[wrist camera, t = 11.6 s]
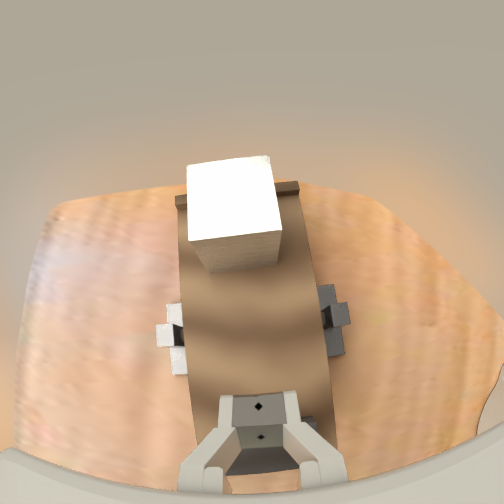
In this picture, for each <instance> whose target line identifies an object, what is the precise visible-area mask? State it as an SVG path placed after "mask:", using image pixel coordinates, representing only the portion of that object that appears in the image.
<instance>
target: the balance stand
mask: <svg viewBox="0 0 504 504" xmlns="http://www.w3.org/2000/svg"><path fill="white" fill-rule="evenodd" d="M317 293H318V299H319V305H320V311H321V312H324V314H325V320H326V323H325V325H323V330H324V337H325V344H326V351H327V357H332V356H337V355H342V354H345V352H344V345H343V338H342V332H341V327H342V326H345V325H348V324H351V322H350V316H349V310H348V304H347V302H343V303H337V301H336V295H335V289H334V284H331V285H325V286H318V287H317ZM166 307H167V322H168V324H160V325H156V335H157V347H170V357H171V367H172V375H173V374H188V373H187V364H186V355H185V344H184V342H182V340H181V334H180V332H181V329H183V321H182V308H181V303H176V304H166Z"/></svg>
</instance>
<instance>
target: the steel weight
mask: <svg viewBox="0 0 504 504" xmlns="http://www.w3.org/2000/svg"><path fill="white" fill-rule="evenodd" d="M187 204H188V235H189V242H190V244H191V246H192V247H193V249H194V250H195V252H196V254H197V255H198V257H199V258H200V260H201V262H202V263H203V265H204V266H205V268H206V269H207V271H208V273H209V274H211V273H220V272H228V271H237V270H245V269H253V268H261V267H269V266H276V264H277V258H278V252H279V246H280V240H281V234H282V225H281V219H280V214H279V208H278V202H277V197H276V191H275V186H274V181H273V176H272V170H271V165H270V160H269V155H265V156H254V157H245V158H237V159H229V160H221V161H214V162H207V163H200V164H194V165H188V166H187Z"/></svg>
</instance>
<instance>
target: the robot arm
mask: <svg viewBox="0 0 504 504" xmlns="http://www.w3.org/2000/svg"><path fill="white" fill-rule="evenodd" d="M278 446H283V447H284V449H285V450H286V451H287V452H288V453H289V454H290V455H291V457H292V458H293V459H294V460H295V461H296V462H297V463H298V465H299V474H298V481H297V490H296V491H286V492H275V493H260V494H232V488H231V486H230V484H229V482H228V480H227V477H226V475H225V473H226V472H227V470H228V469H229V468H230V466H231V465H232V463H233V462H234V460H235V459H236V458H237V456H238V455H239V453H240V452H241V449H247V448H261V447H278ZM0 504H504V364H503V366H502V369H501V372H500V376H499V379H498V382H497V384H496V386H495V388H494V389H493V391H492V392H491V394H490V396H489V398H488V400H487V402H486V404H485V406H484V409H483V411H482V414H481V417H480V420H479V425H478V430H477V436H475V437H473V438H471V439H469V440H467V441H465V442H463V443H461V444H459V445H457V446H454V447H452V448H450V449H448V450H445V451H443V452H441V453H438V454H436V455H434V456H431V457H429V458H426V459H423V460H421V461H418V462H415V463H412V464H410V465H407V466H404V467H401V468H398V469H394V470H391V471H388V472H385V473H381V474H378V475H374V476H370V477H366V478H362V479H358V480H354V481H349V480H348V476H347V472H346V467H345V463H344V459H343V455H342V454H341V453H340V452H339V451H337V450H336V449H335V448H334V447H333V446H332V445H331V444H329V443H328V442H327V441H326V440H325V439H324V438H323V437H321V436H320V435H319V434H318V433H317V432H316V431H315V430H314V429H312V428H311V427H310V426H309V425H308V424H307V423H306V422H301V416H300V410H299V404H298V399H297V393H296V391H295V390H292V391H280V392H271V393H259V394H248V395H221V397H220V403H219V417H218V428H213V430H212V431H211V432H210V433H209V434H208V435H207V436H206V437H205V438H204V440H203V441H202V442H201V443H200V444H199V445H198V446H197V447H196V448H195V449H194V451H193V452H192V453H191V454H190V455H189V456H188V457H187V458H186V459H185V460H184V461H183V462H182V463H181V464H180V471H179V478H178V485H177V491H169V490H161V489H154V488H147V487H141V486H135V485H130V484H125V483H120V482H116V481H111V480H107V479H103V478H99V477H95V476H92V475H88V474H84V473H81V472H78V471H75V470H71V469H68V468H65V467H62V466H59V465H57V464H54V463H51V462H48V461H46V460H43V459H41V458H38V457H36V456H33V455H31V454H28V453H26V452H24V451H22V450H20V449H17V448H14V447H11V448H8V449H6V450H4V451H2V452H0Z"/></svg>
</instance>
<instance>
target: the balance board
mask: <svg viewBox="0 0 504 504" xmlns="http://www.w3.org/2000/svg"><path fill="white" fill-rule="evenodd" d="M274 186H275V191H276V197H277V202H278V208H279V214H280V219H281V225H282V234H281V240H280V246H279V252H278V258H277V264H276V266H269V267H261V268H253V269H245V270H237V271H228V272H220V273H211V274H209V273H208V271H207V269H206V268H205V266H204V265H203V263H202V262H201V260H200V258H199V257H198V255H197V254H196V252H195V250H194V249H193V247H192V246H191V244H190V242H189V235H188V204H187V194H185V195H179V196H175V206H176V208H177V209H178V250H179V274H180V292H181V308H182V321H183V329H181V332H180V334H181V340H182V342H184V344H185V355H186V364H187V373H188V382H189V390H190V398H191V406H192V413H193V420H194V426H195V433H196V439H197V445H199V444H200V443H201V442H202V441H203V440H204V438H205V437H206V436H207V435H208V434H209V433H210V432H211V431H212V430H213V428H218V417H219V403H220V397H221V395H248V394H259V393H271V392H280V391H292V390H295V391H296V393H297V399H298V404H299V410H300V416H301V422H306V423H307V424H308V425H309V426H310V427H311V428H312V429H314V430H315V431H316V432H317V433H318V434H319V435H320V436H321V437H323V438H324V439H325V440H326V441H327V442H328V443H329V444H331V445H332V446H333V447H334V448H335V449H336V450H337V438H336V427H335V417H334V407H333V398H332V390H331V381H330V373H329V366H328V358H327V351H326V344H325V337H324V330H323V325H325V323H326V320H325V314H324V312H321V311H320V305H319V299H318V293H317V287H316V281H315V275H314V270H313V264H312V259H311V254H310V248H309V243H308V238H307V233H306V228H305V223H304V218H303V214H302V209H301V204H300V200H299V190H300V189H299V185H298V181H291V182H281V183H274ZM337 451H338V450H337ZM298 468H299V465H298V463H297V462H296V461H295V460H294V459H293V458H292V457H291V455H290V454H289V453H288V452H287V451H286V450H285V449H284V447H283V446H278V447H261V448H247V449H241V452H240V453H239V455H238V456H237V458H236V459H235V460H234V462H233V463H232V465H231V466H230V468H229V469H228V470H227V472H226V473H225V475H226V476H231V475H247V474H259V473H269V472H277V471H285V470H292V469H298Z"/></svg>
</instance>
